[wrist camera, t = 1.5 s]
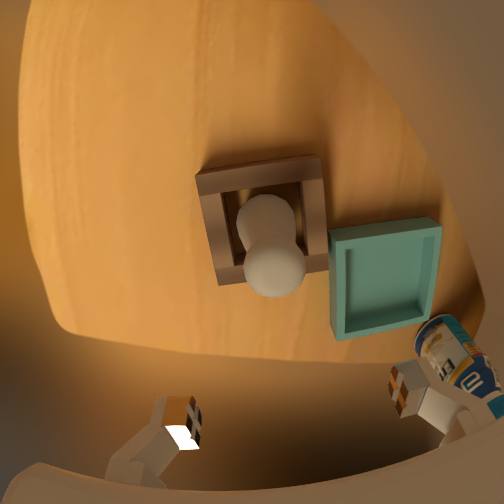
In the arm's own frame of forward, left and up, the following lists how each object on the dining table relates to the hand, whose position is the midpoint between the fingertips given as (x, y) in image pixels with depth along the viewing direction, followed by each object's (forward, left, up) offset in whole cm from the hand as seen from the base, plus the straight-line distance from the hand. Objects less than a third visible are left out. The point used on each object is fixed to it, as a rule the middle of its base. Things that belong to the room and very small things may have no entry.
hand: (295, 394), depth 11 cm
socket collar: (0, 0, -23) cm, 23 cm away
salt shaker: (0, 0, -23) cm, 23 cm away
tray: (+9, +13, -23) cm, 28 cm away
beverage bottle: (+22, +24, -23) cm, 40 cm away
